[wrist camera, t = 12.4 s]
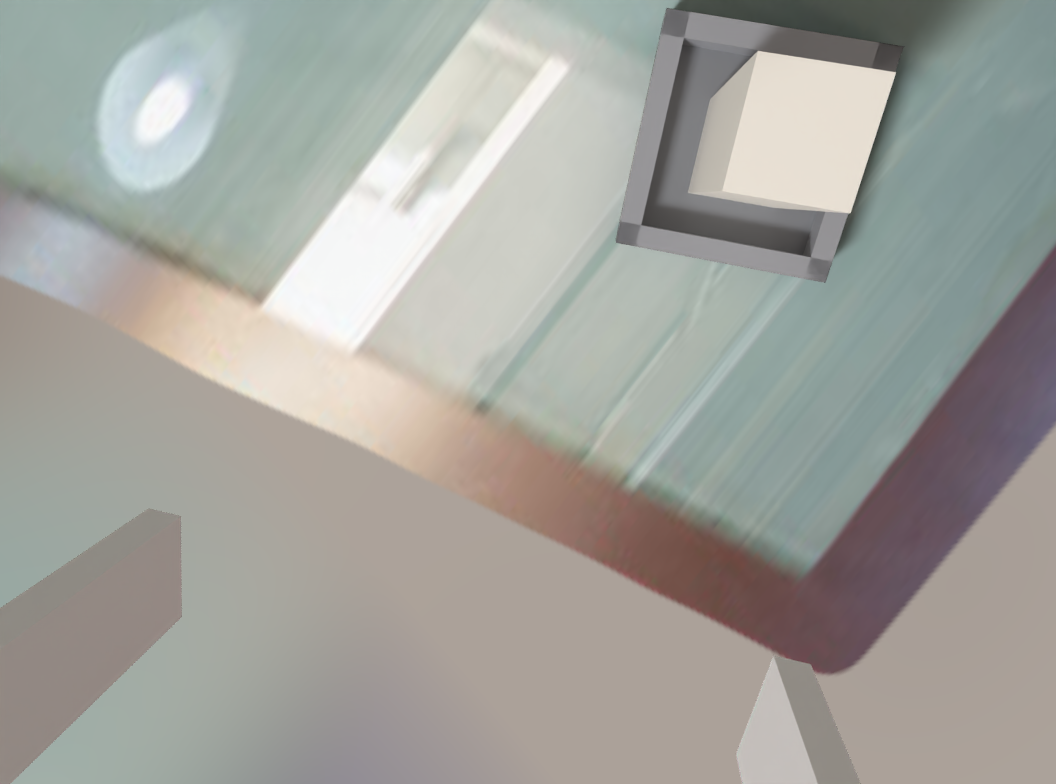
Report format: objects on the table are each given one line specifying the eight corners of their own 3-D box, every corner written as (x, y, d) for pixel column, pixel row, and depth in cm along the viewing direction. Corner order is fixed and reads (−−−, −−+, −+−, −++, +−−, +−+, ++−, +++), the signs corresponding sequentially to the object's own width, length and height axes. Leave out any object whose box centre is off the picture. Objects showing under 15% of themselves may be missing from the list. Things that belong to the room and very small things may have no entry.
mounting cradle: (662, 21, 34) (666, 8, 32) (881, 58, 33) (903, 46, 31) (615, 239, 38) (615, 242, 36) (810, 276, 37) (825, 282, 35)
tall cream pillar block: (710, 96, 34) (759, 46, 23) (802, 111, 34) (897, 68, 22) (687, 192, 36) (722, 191, 24) (774, 207, 35) (850, 213, 24)
